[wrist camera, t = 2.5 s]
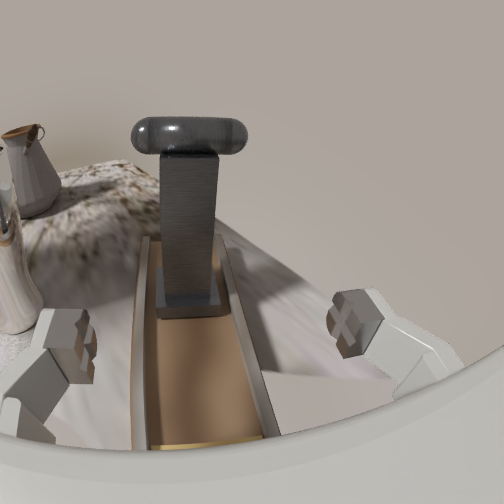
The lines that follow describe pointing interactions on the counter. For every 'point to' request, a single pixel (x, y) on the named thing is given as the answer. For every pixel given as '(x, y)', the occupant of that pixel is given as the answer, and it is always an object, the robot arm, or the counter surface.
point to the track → (194, 368)
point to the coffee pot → (31, 171)
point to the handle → (188, 206)
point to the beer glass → (14, 261)
